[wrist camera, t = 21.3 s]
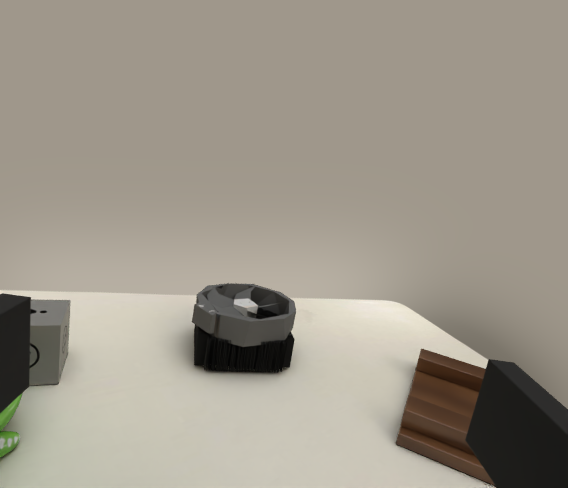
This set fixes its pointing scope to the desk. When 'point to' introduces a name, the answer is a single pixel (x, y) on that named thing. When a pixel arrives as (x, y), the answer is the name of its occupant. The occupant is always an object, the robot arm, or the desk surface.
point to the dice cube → (48, 340)
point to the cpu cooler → (243, 328)
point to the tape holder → (443, 412)
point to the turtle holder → (8, 440)
